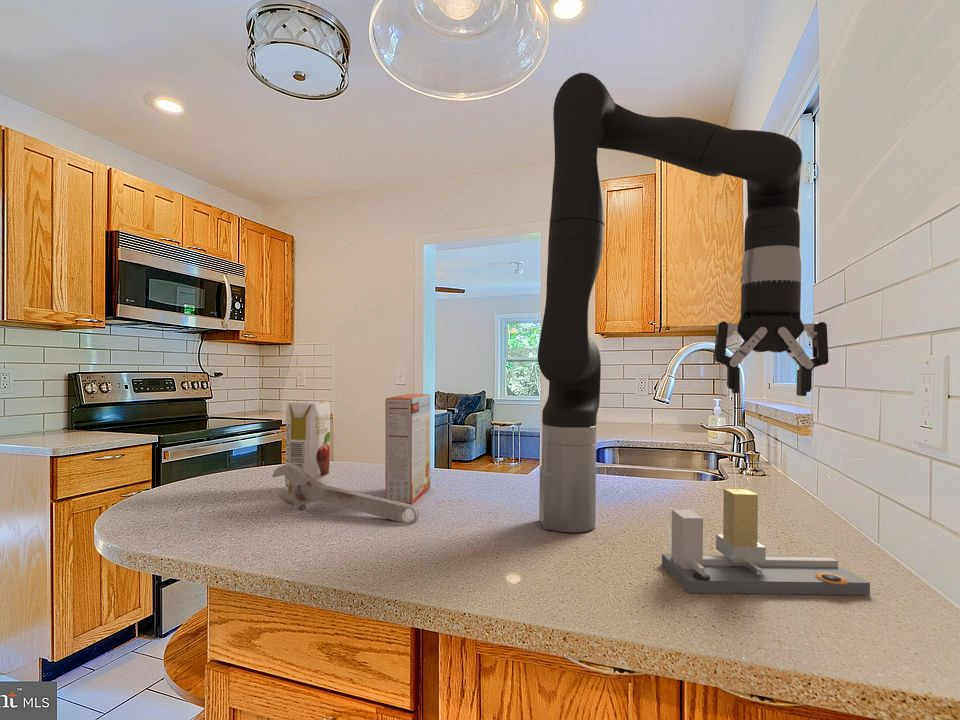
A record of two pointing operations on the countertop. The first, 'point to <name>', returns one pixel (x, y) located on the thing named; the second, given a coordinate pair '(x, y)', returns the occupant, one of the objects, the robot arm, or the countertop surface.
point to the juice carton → (308, 439)
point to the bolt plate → (731, 577)
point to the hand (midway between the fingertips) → (767, 394)
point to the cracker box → (407, 447)
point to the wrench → (338, 496)
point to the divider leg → (741, 529)
